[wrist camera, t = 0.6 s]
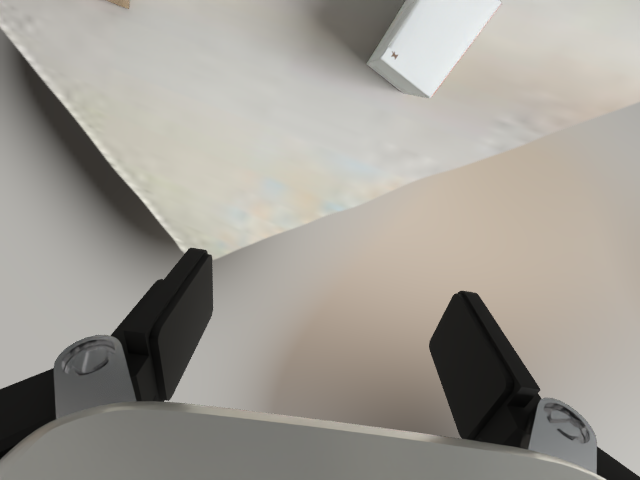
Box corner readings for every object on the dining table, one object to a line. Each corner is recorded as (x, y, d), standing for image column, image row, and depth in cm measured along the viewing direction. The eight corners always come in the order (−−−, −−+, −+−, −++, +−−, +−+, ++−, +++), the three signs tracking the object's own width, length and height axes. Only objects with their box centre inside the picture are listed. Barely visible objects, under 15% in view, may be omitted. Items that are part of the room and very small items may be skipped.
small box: (403, 94, 34) (429, 102, 25) (364, 63, 33) (377, 60, 24) (454, 22, 31) (506, 1, 22) (413, -15, 29) (450, -54, 20)
